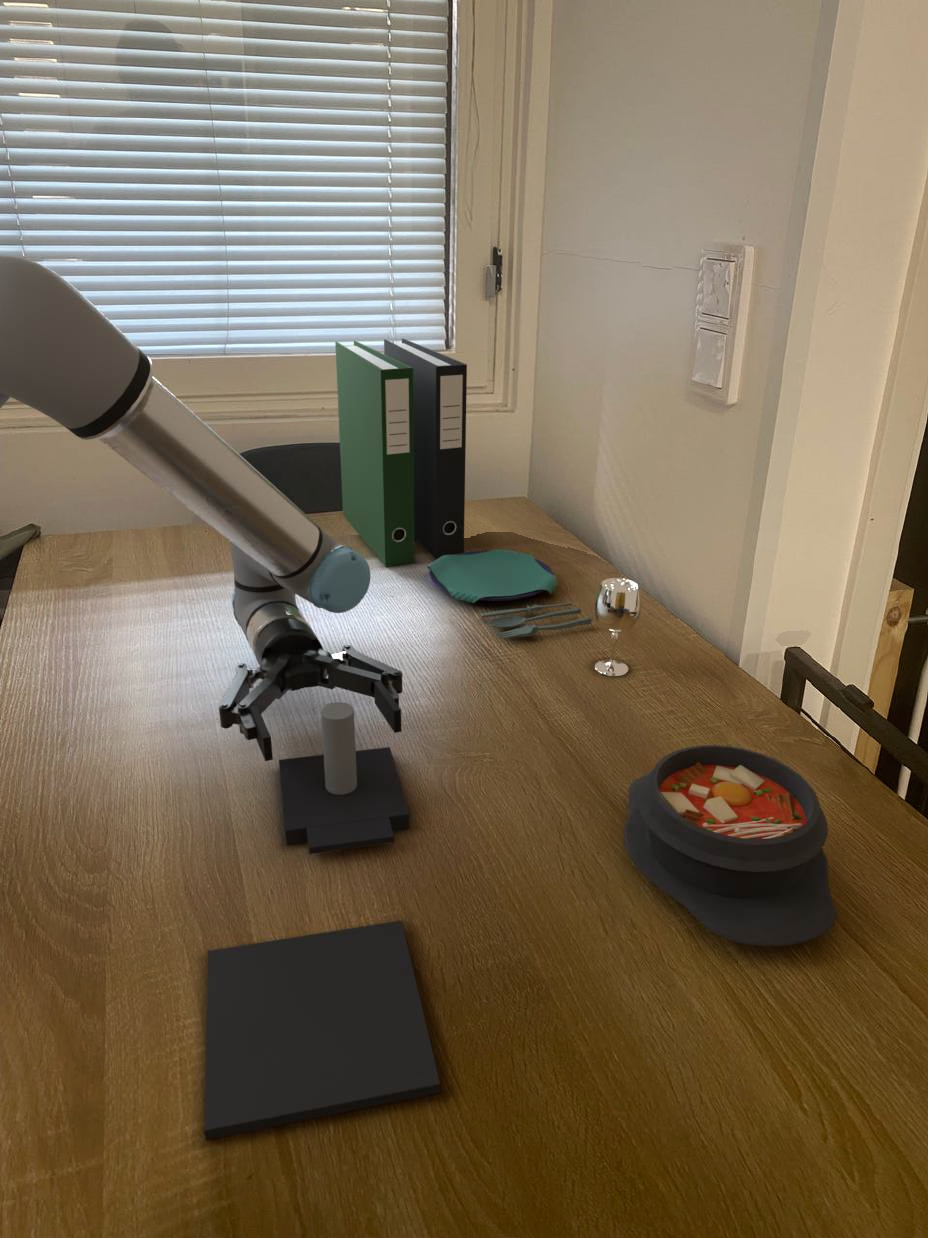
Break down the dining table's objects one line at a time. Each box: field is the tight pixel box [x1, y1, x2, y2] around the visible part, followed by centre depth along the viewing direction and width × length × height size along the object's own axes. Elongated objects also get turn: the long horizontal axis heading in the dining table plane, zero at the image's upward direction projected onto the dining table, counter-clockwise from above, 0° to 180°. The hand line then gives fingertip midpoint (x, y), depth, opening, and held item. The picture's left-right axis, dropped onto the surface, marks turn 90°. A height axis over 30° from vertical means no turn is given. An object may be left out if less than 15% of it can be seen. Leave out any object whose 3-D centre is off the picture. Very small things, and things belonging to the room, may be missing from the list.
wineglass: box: [594, 577, 641, 677], centre depth 118 cm, size 6×6×12 cm
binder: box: [335, 338, 468, 568], centre depth 157 cm, size 27×15×32 cm, turn 23°
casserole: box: [623, 744, 838, 947], centre depth 84 cm, size 25×19×8 cm
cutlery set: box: [427, 548, 593, 639], centre depth 140 cm, size 20×30×2 cm, turn 19°
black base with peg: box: [278, 701, 410, 855], centre depth 90 cm, size 12×15×11 cm
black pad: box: [203, 919, 441, 1141], centre depth 69 cm, size 16×16×1 cm
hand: (334, 735), depth 92 cm, fingers open, 13 cm apart
